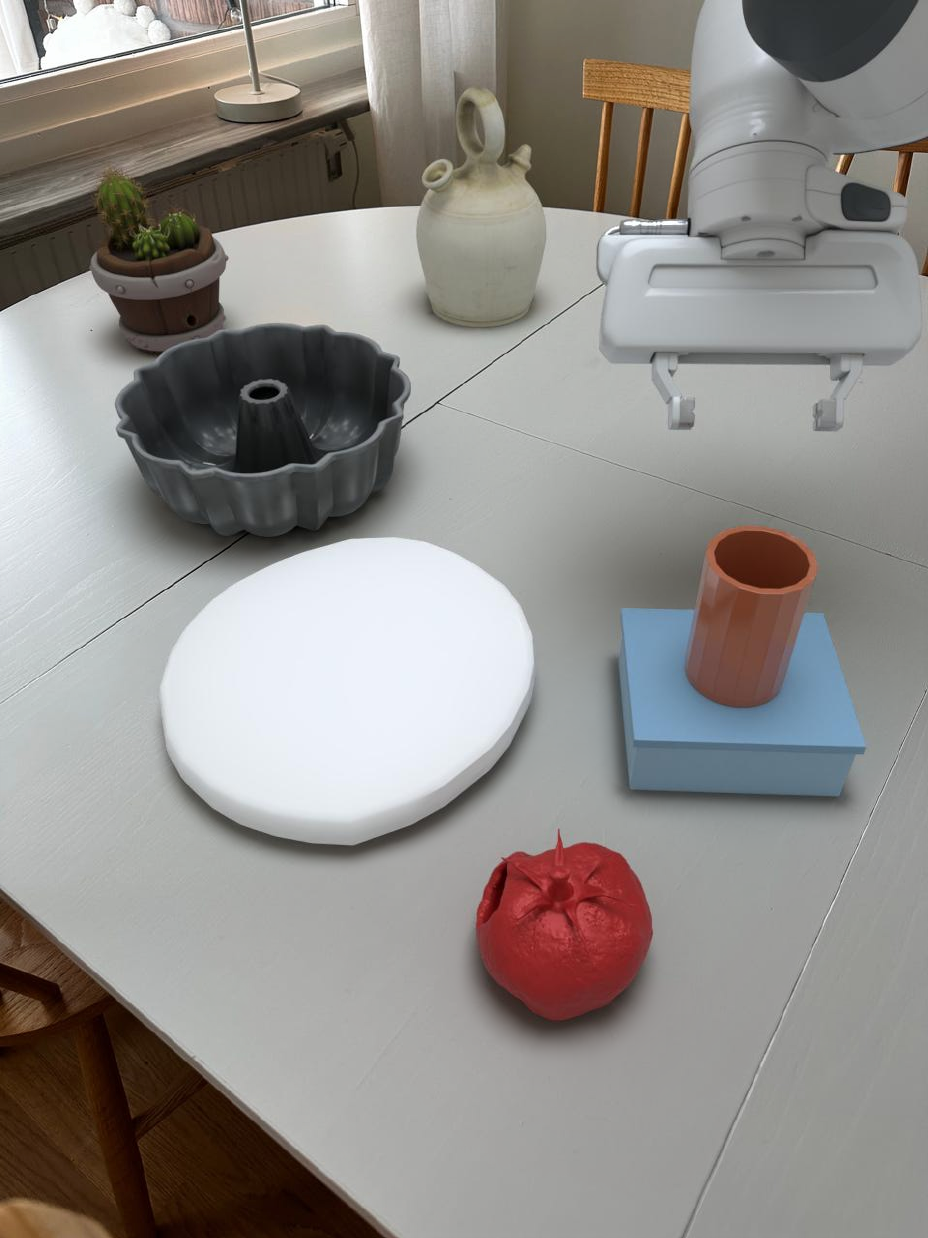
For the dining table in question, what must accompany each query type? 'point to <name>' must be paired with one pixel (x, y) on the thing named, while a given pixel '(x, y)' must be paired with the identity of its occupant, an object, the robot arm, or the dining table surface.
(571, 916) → the pomegranate
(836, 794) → the container
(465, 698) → the plate
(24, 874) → the dining table surface
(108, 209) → the flowerpot
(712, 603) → the cup
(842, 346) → the robot arm
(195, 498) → the bundt pan
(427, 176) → the jug
